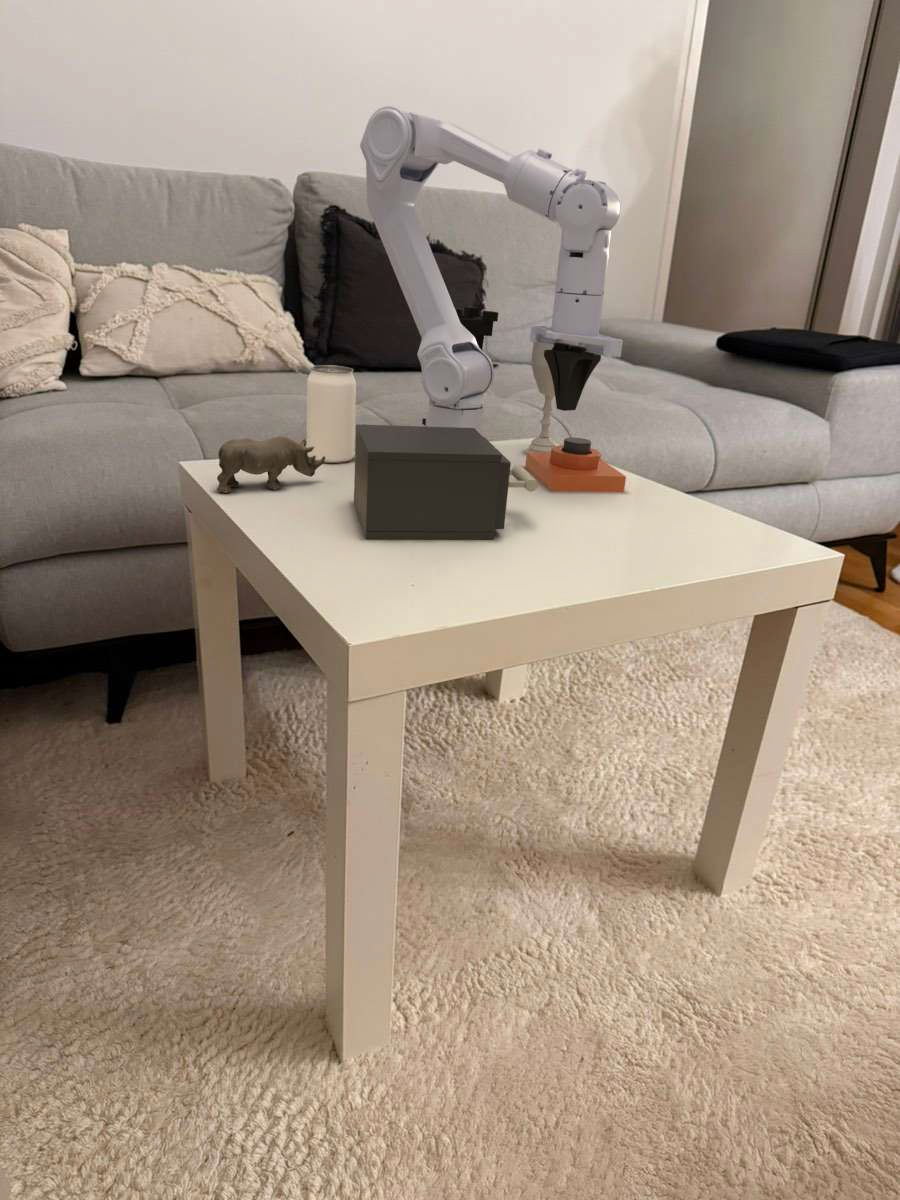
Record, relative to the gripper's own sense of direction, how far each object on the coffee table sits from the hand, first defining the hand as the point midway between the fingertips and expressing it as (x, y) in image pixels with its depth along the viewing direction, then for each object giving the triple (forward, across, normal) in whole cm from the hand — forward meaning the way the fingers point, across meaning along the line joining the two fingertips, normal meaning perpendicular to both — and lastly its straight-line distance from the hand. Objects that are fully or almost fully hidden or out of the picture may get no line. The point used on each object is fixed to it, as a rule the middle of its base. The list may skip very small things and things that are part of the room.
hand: (566, 409), depth 106 cm
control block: (+10, -4, +6) cm, 12 cm away
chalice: (+10, -16, +11) cm, 22 cm away
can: (+10, -24, -21) cm, 33 cm away
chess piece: (+10, -22, -2) cm, 25 cm away
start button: (+7, -3, +6) cm, 9 cm away
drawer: (+9, +6, -20) cm, 23 cm away
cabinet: (+10, +4, -23) cm, 26 cm away
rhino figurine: (+10, -13, -33) cm, 37 cm away
